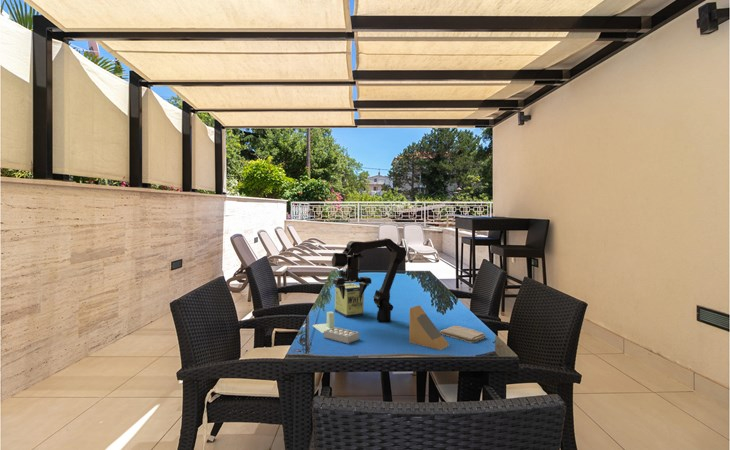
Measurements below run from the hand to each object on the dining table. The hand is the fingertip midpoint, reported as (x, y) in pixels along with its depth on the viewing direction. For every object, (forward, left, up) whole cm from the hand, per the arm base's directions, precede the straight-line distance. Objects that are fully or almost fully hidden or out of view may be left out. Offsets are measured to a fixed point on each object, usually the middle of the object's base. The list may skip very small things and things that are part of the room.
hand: (351, 298), depth 191 cm
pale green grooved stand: (+11, +9, -13) cm, 20 cm away
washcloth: (-52, +12, -14) cm, 55 cm away
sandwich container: (-36, +25, -13) cm, 46 cm away
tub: (+2, +23, -13) cm, 26 cm away
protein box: (+4, -21, -13) cm, 25 cm away
